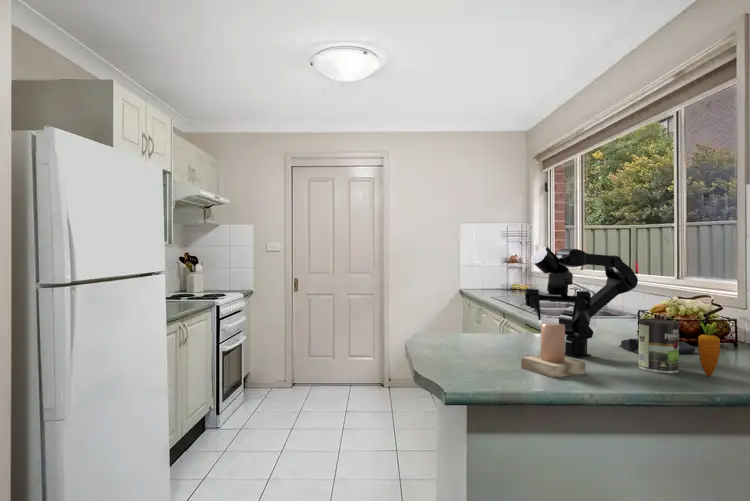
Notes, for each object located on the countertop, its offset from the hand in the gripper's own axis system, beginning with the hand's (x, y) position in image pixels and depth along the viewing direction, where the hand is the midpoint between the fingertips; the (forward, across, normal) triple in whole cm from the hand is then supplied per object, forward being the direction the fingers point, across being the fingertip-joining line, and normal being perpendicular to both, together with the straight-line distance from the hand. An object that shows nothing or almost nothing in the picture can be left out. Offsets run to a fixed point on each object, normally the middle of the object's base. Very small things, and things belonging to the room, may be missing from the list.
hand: (555, 320), depth 143 cm
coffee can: (+3, +27, +16) cm, 32 cm away
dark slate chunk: (-19, +30, +39) cm, 53 cm away
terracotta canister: (+12, 0, +2) cm, 12 cm away
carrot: (+5, +39, +14) cm, 42 cm away
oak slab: (+14, 0, +4) cm, 15 cm away
